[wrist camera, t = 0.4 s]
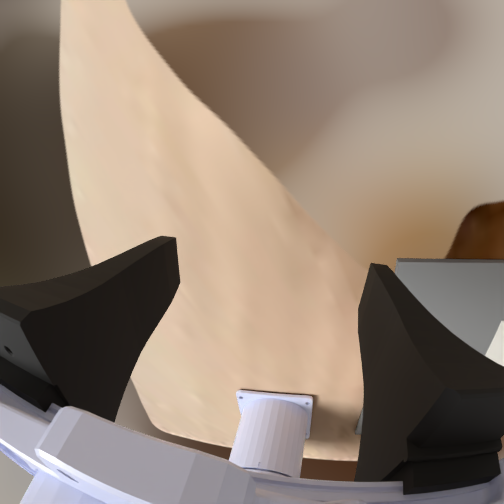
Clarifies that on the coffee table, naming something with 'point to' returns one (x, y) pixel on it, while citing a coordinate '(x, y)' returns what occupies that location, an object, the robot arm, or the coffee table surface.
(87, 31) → the coffee table surface
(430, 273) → the build mat
